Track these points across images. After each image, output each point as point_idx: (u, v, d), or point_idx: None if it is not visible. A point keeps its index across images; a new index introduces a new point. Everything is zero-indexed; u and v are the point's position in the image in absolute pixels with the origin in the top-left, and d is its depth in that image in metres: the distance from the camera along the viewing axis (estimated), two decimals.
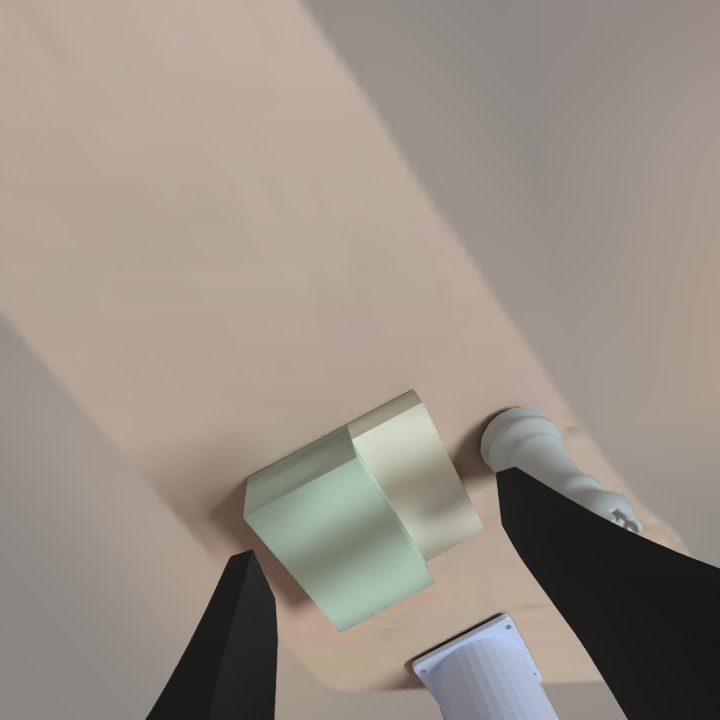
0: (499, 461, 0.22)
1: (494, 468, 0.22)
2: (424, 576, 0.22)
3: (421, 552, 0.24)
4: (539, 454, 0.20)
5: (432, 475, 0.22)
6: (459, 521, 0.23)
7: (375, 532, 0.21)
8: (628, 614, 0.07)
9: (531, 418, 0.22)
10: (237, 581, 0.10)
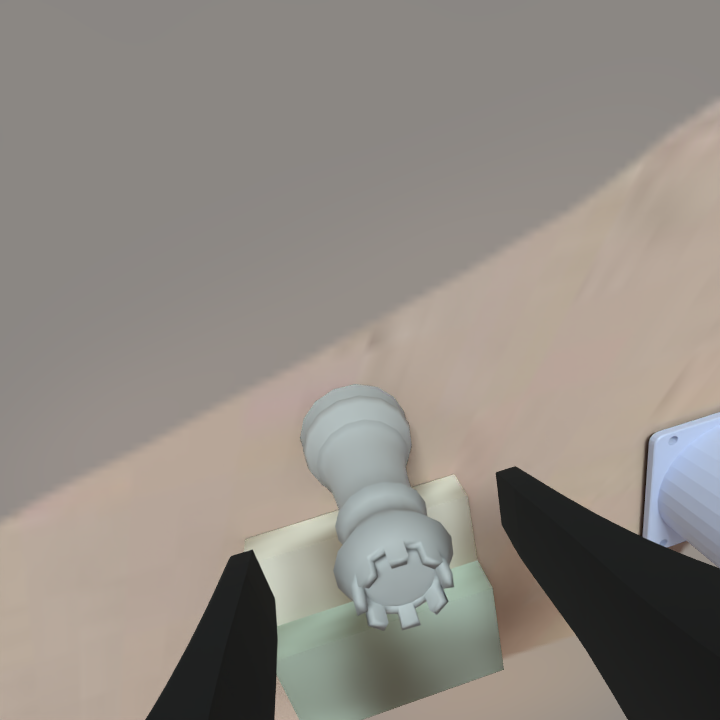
0: None
1: None
2: (474, 598, 0.18)
3: (460, 564, 0.19)
4: (332, 491, 0.14)
5: None
6: None
7: (380, 644, 0.18)
8: (628, 614, 0.07)
9: (306, 443, 0.15)
10: (237, 581, 0.10)
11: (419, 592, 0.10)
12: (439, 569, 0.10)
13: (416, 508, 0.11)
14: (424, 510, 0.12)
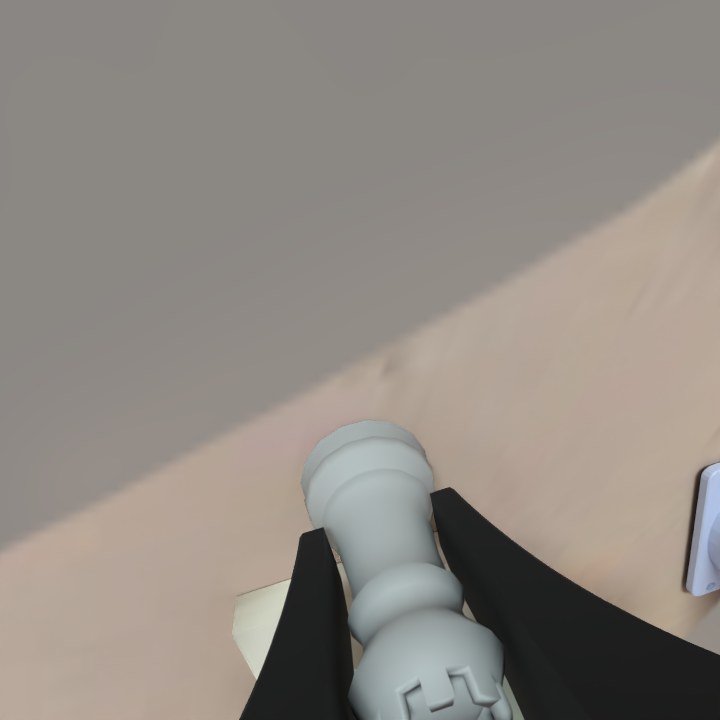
0: None
1: None
2: None
3: None
4: None
5: None
6: None
7: None
8: (526, 651, 0.07)
9: (308, 494, 0.13)
10: (316, 555, 0.10)
11: None
12: None
13: (454, 600, 0.09)
14: (462, 596, 0.09)
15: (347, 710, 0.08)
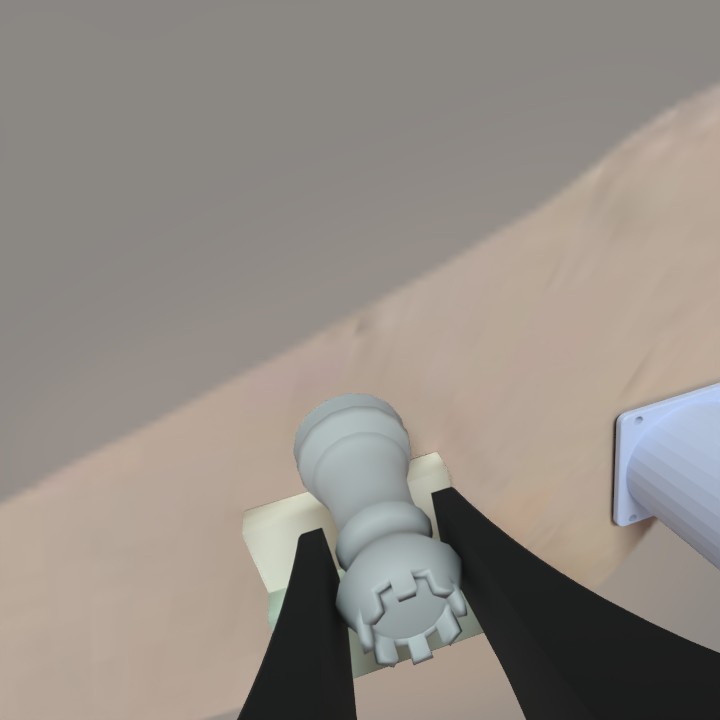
0: None
1: None
2: None
3: None
4: (330, 510, 0.13)
5: None
6: (419, 497, 0.20)
7: None
8: (527, 650, 0.07)
9: (299, 459, 0.14)
10: (315, 556, 0.10)
11: (430, 622, 0.09)
12: (451, 596, 0.09)
13: (421, 528, 0.11)
14: (430, 528, 0.11)
15: (345, 711, 0.08)
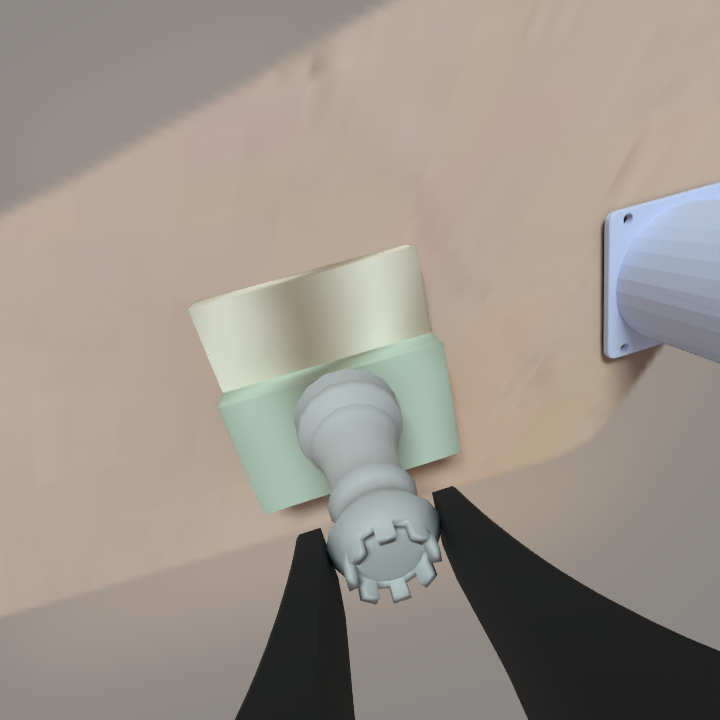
0: None
1: None
2: (425, 353, 0.18)
3: (414, 336, 0.19)
4: (325, 473, 0.14)
5: (300, 309, 0.18)
6: (386, 282, 0.18)
7: None
8: (529, 649, 0.07)
9: (299, 428, 0.16)
10: (313, 556, 0.10)
11: (409, 567, 0.11)
12: (427, 544, 0.10)
13: (405, 487, 0.12)
14: (414, 489, 0.12)
15: (343, 711, 0.08)
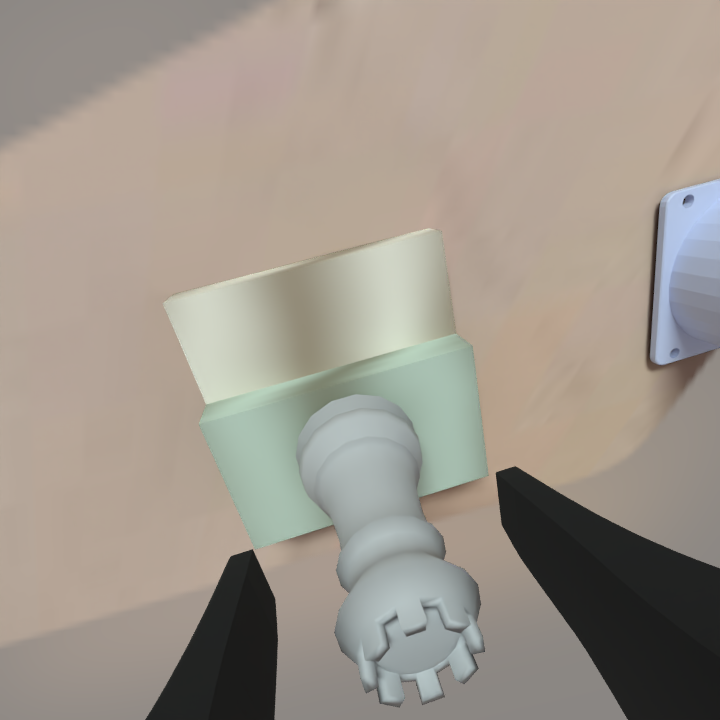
0: None
1: None
2: (450, 359, 0.15)
3: (435, 337, 0.16)
4: None
5: (300, 304, 0.14)
6: (404, 272, 0.15)
7: None
8: (628, 614, 0.07)
9: (301, 464, 0.13)
10: (237, 581, 0.10)
11: (441, 657, 0.08)
12: (466, 629, 0.08)
13: (433, 547, 0.10)
14: (442, 546, 0.10)
15: None
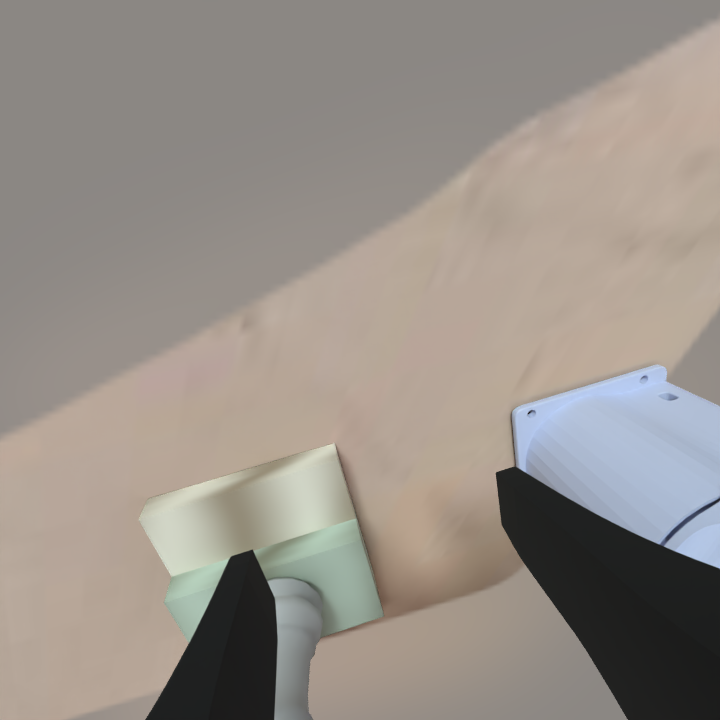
0: None
1: None
2: (345, 548, 0.21)
3: (340, 522, 0.22)
4: None
5: (237, 511, 0.20)
6: (312, 485, 0.21)
7: None
8: (628, 614, 0.07)
9: None
10: (237, 581, 0.10)
11: None
12: None
13: None
14: None
15: None
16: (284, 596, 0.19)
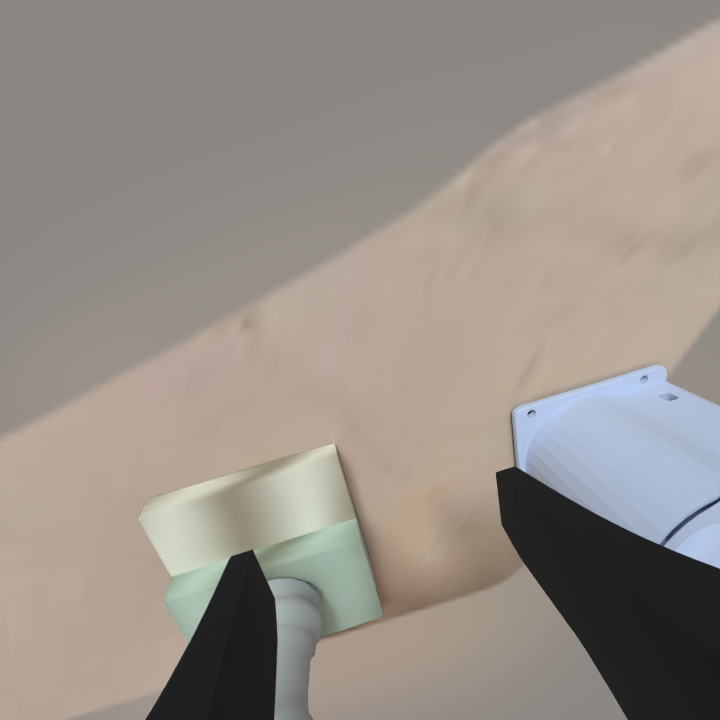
0: None
1: None
2: (345, 548, 0.21)
3: (340, 522, 0.22)
4: None
5: (237, 511, 0.20)
6: (312, 485, 0.21)
7: None
8: (628, 614, 0.07)
9: None
10: (237, 581, 0.10)
11: None
12: None
13: None
14: None
15: None
16: (284, 596, 0.19)
